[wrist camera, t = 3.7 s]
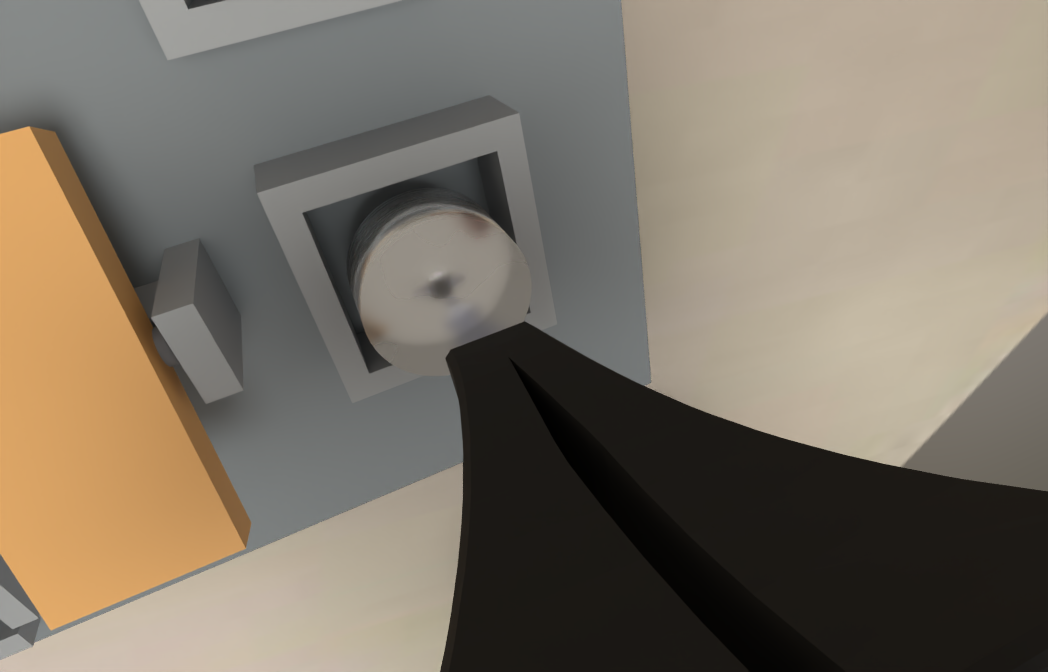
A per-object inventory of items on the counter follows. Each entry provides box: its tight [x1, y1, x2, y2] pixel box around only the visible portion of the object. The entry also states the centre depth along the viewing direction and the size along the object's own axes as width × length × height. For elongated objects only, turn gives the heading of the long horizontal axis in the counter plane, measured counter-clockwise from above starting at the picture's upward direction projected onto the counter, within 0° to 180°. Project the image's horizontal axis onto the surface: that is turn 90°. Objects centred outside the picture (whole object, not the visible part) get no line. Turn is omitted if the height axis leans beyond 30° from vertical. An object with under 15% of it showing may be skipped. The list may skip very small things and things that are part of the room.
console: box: [0, 0, 651, 660], centre depth 13 cm, size 18×22×5 cm
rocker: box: [0, 126, 251, 630], centre depth 11 cm, size 8×4×1 cm, turn 11°
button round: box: [347, 188, 532, 376], centre depth 13 cm, size 3×3×2 cm
